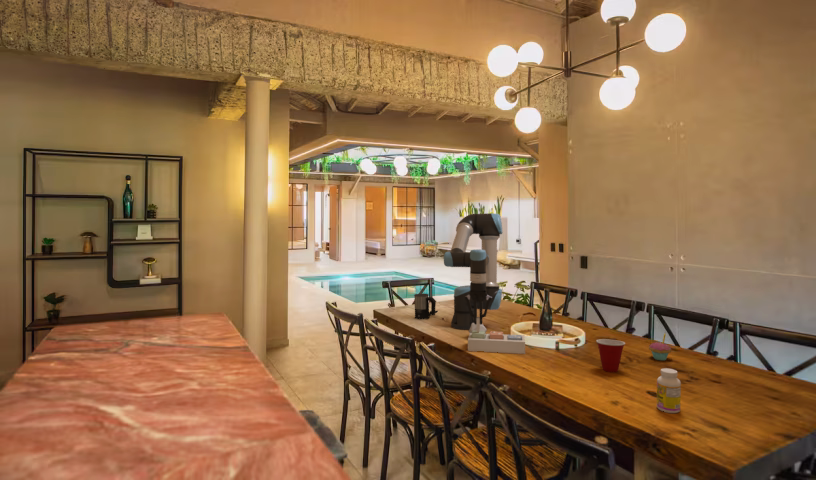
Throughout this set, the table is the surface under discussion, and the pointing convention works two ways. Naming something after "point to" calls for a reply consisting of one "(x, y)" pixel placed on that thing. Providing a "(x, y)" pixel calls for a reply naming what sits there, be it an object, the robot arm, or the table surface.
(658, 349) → the cupcake
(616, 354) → the plastic cup
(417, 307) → the milk frother
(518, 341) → the keypad housing
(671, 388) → the supplement bottle
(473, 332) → the sage tile
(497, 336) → the terracotta tile
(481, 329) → the die
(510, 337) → the slate tile
